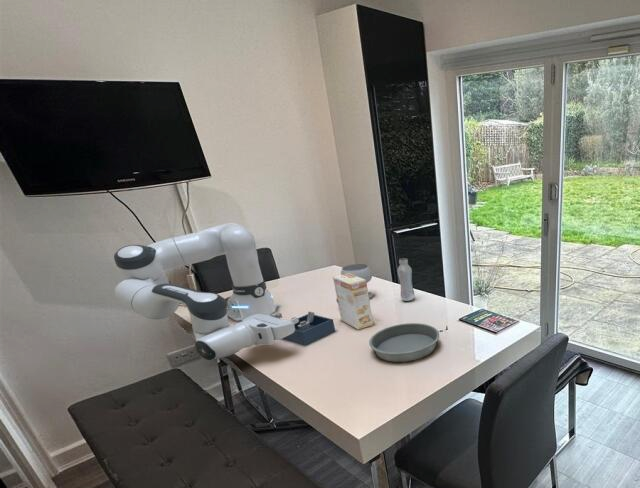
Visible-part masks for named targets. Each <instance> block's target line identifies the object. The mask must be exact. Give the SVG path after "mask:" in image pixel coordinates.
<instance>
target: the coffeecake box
mask: <svg viewBox="0 0 640 488" xmlns="http://www.w3.org/2000/svg"><path fill="white" fill-rule="evenodd" d="M332 279H333V284H334V290H335V295H336V301H337V300H338V303H337V305H338V310H339V315H340V320H341V321H342V322H344V323H345V324H348V325H349V326H351V327H352V328H355V329H356V330H361V329H364V328H368V327H370V326H373V325H374V320H373V313H372V308H371V301H370V298H369V295H368V292H369V289H368V283H367V282H366V280H365V279H362V278H360V277H357V276H355V275H352V274H350V273H346V274H341V273H340V274H338V275H334V276H332Z"/></svg>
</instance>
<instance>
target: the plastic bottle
mask: <svg viewBox="0 0 640 488" xmlns="http://www.w3.org/2000/svg"><path fill="white" fill-rule="evenodd" d="M398 264H399V266H398V267H397V270H396V272H397V275H398V279H399V284H400V298H401V300H402V301H403V302H410V301H413V300H414V299H415V298H416V297H415V296H416V294H415V290H414V287H413V279H412V278H413V277H412V276H413V275H412V274H413V271H412V270H413V269H412V267H411V266H410V265H409V261H408V258H407V257H406V258H405V257H401V258H399V260H398Z"/></svg>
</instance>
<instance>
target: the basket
mask: <svg viewBox="0 0 640 488" xmlns="http://www.w3.org/2000/svg"><path fill="white" fill-rule="evenodd" d="M307 317H308V313H307V314H304V315H302V316H299V317H297V318H298V319H299V322H298V323H296V324H295V325H294V327H295V331H294V333H292V334H290V335H288V336H286V337H284V338H282V339H284V340H285V341H286V340H287V341H290V342H293V343H296V344H299V345H304V346H308V345H310V344H312V343H314V342H316V341H318V340H321V339H322V338H324V337H326V336H329V335H331V334H333V333H335V332H336V327H335V322H334V318H331V317H330V318H329V317H325V316H321V315H318V314H314V318H313V323H310V329H307V330H305V331H300V330H298V325H300V322H302V321H306V322H307Z"/></svg>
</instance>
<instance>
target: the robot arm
mask: <svg viewBox="0 0 640 488" xmlns="http://www.w3.org/2000/svg"><path fill="white" fill-rule="evenodd" d="M222 255H225V259H226V263H227V267H228V271H229V274H230V278H231V281H232V284H231V285H230V286H231V288H232V294H231V295H230V296H227V297H225V298H224V297H223V296H221V295H220V294H218V293H215V292H209V291H200V290H197V289H193V288H189V287H186V286H183V285H180V284H179V285H178V284H175V283H174V284H173V283H171V280H170V279H169V278H168V275H167V272H166V270H169V269H176V268H181V267H186V266H189V265H194V264H198V263H202V262H206V261H209V260H212V259H213V258H216V257H219V256H222ZM113 259H114V264H115V265H116V267H117V268H118V269H119V271H120V273H121V275H122V277H123V278H124V280H122V281H120V282H119V283H118V284H117V285H116V286H115V288H114V297H115V298H116V300H117V301H118V302H119V303H120V304H122V306H124V307H125V308H127V309H129V310H130V311H132V312H134V313H136V314H138V315H140V316H141V317H144V318H146V319H149V320H164V319H166V318H169V317H170V316H172V315H174V314H175V313H176V311H177V310H178V309H179V307H180V305H183V306H186V308H187V310H188V312H189V317H190V322H191V329H192V334H193V338H194V340H195V342H194V348H195V351H196V352H197V354H198V355H199V356H200V357H201V358H203V359H204V360H206V361H217V360H220V359H223V358H227V357H229V356H232V355H234V354H237V353H238V352H240V351H241V350H243V349H246V348H247V349H248V348H251V347H254V346H258V345H273V344H274V343H275V341H279V340H282V339H283V338H284V337H286V336H288V335H290V334H292V333H294V331H295V327H294V325H295V324H296V323H298V322H299V319H298V318H299V317H296V316H294V317H291V320H287V319H283V315H282V313H280V312H277V313H276V309H277V308H278V307H279V306H278V304H277V303H275V302H274V299H273V298H274V296H273V295H272V294H271V293H272V292H271V291H270V290H269V289H267V283H266V281H265V280H264V278H263V274H262V270H261V267H260V262H259V255H258V250H257V245H256V240H255V236H254V234H252V232H251V231H249V229H247V228H246V227H244V226H243V225H241V224H239V223H237V222H226V223H223V224H219V225H215V226H212V227H209V228H206V229H201V230H199V231H196V232H191V233H188V234H187V233H186V234H183V235H178V236H173V237H170V238H165V239H162V240H159V241H156V242H153V243H151V244H148V245H141V244H130V245H125V246H123V247H120V248H119V249H118V250H117V251H116V252H115V253H114V255H113ZM228 317H229V318H230V319H232V320H234V321H236V322H237V323H235V324H234V325H230V324H229V319H228Z"/></svg>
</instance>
